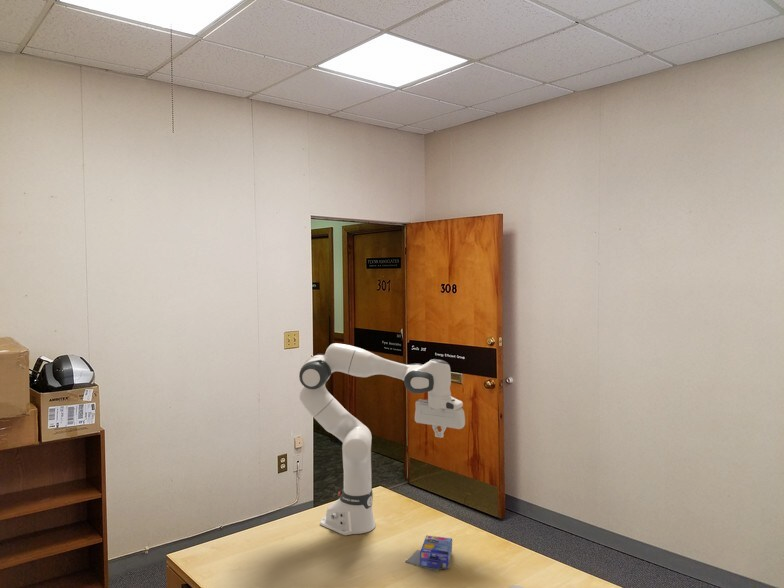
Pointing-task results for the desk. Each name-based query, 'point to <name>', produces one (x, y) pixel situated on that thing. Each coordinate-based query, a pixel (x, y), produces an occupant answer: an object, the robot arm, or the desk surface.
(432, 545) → the ink cartridge box
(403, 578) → the desk surface
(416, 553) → the mat
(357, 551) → the desk surface
